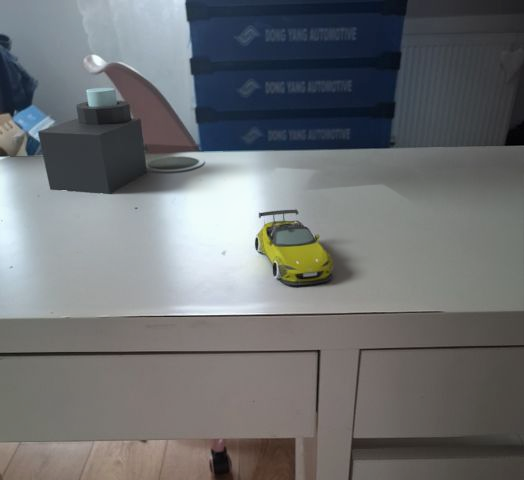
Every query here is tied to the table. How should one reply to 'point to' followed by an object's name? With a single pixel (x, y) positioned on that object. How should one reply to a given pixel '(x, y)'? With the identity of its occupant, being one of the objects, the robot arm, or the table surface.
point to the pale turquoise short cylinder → (101, 97)
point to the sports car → (293, 251)
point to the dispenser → (94, 150)
